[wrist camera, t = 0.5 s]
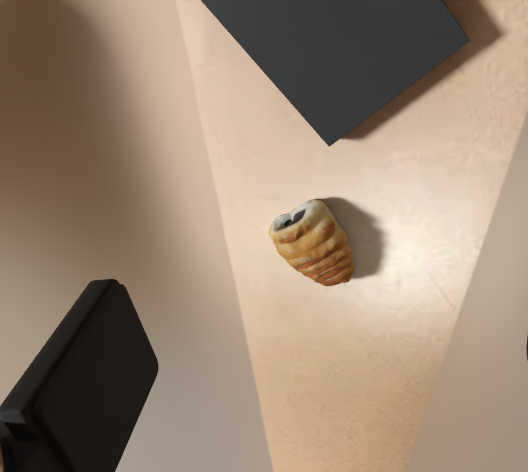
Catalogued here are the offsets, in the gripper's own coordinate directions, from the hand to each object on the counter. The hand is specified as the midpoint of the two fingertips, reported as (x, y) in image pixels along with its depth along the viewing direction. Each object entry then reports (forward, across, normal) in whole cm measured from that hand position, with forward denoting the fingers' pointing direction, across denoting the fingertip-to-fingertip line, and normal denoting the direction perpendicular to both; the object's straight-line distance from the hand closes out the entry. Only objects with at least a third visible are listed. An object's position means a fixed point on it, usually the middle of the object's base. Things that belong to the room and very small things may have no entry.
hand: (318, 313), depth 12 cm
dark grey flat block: (+33, +1, -2) cm, 33 cm away
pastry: (+33, +5, +18) cm, 38 cm away
